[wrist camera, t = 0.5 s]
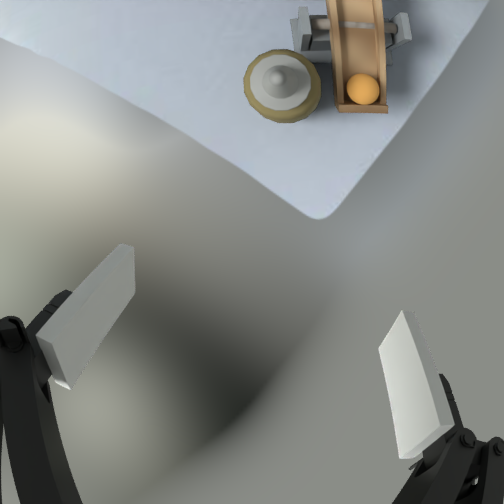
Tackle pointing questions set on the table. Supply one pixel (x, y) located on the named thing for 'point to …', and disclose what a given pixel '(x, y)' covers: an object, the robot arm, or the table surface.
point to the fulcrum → (318, 41)
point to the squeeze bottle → (282, 86)
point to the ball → (363, 89)
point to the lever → (356, 49)
